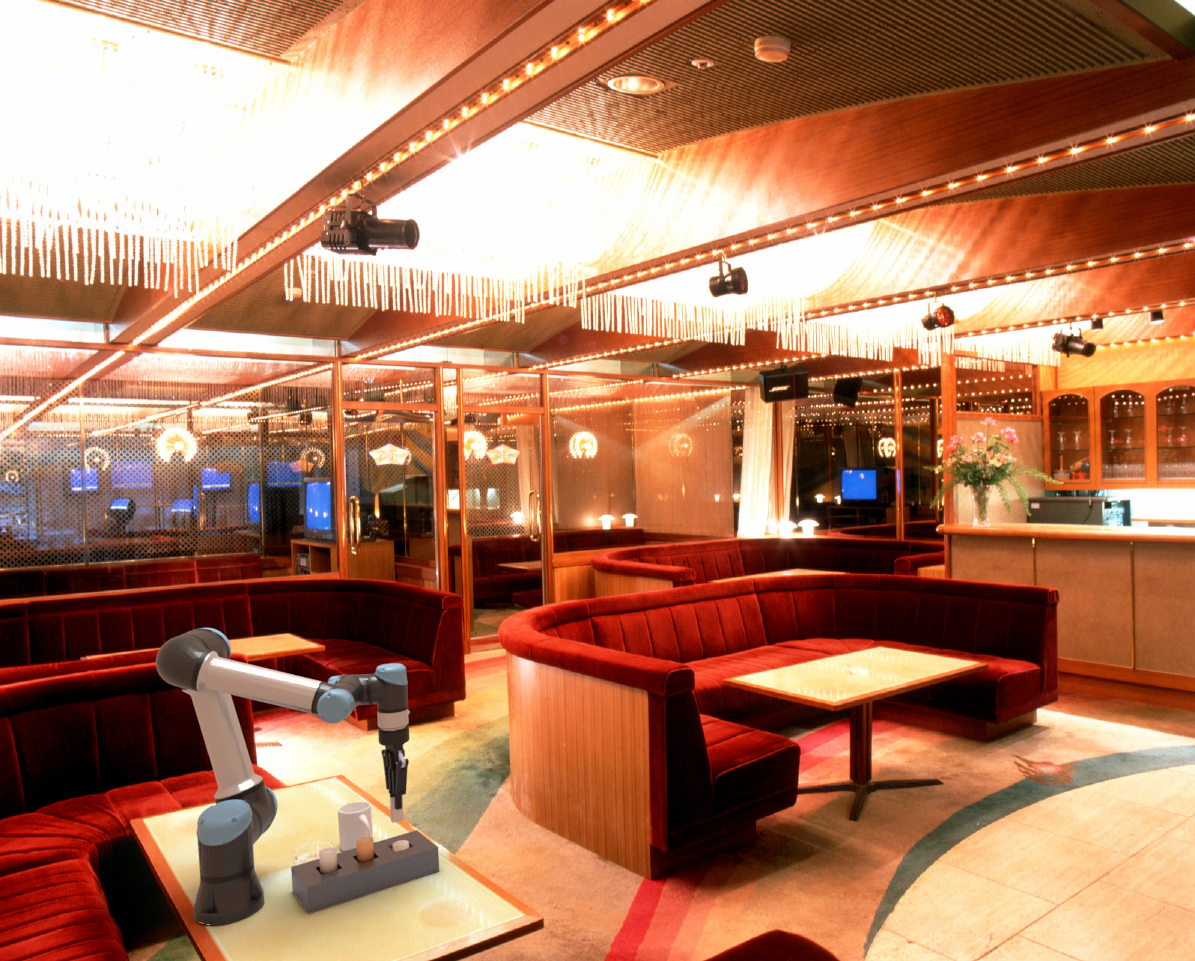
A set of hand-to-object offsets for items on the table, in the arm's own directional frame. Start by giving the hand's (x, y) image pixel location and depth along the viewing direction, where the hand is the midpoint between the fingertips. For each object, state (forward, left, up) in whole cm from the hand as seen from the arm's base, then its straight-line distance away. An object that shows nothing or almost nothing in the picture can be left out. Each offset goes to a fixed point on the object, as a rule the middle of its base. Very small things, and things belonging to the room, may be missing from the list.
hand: (397, 820), depth 213 cm
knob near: (-18, 0, -8) cm, 19 cm away
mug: (-4, +21, -13) cm, 25 cm away
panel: (-9, 0, -13) cm, 15 cm away
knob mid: (-9, 0, -8) cm, 11 cm away
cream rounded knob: (0, 0, -11) cm, 11 cm away
